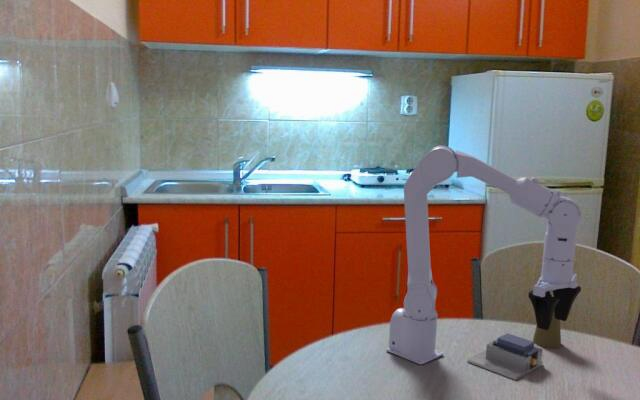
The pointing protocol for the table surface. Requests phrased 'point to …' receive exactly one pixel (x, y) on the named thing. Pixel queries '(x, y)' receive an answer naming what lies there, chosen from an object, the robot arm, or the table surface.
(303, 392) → the table surface
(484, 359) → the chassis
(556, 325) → the cork
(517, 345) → the blue-grey long block
